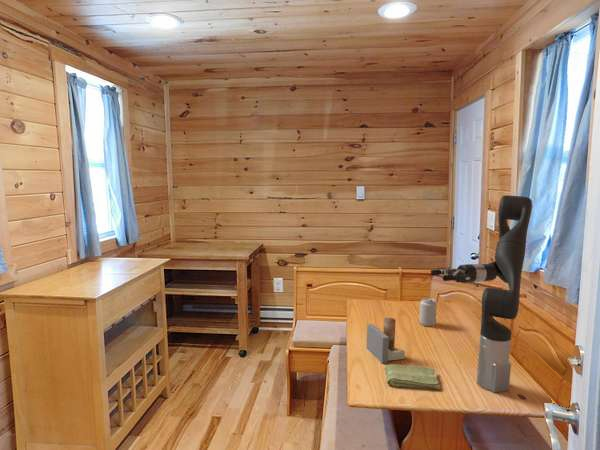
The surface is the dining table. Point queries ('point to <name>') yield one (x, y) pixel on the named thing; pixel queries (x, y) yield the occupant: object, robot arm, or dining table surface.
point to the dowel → (390, 331)
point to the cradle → (396, 355)
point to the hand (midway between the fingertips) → (437, 275)
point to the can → (428, 312)
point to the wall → (377, 343)
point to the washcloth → (411, 376)
